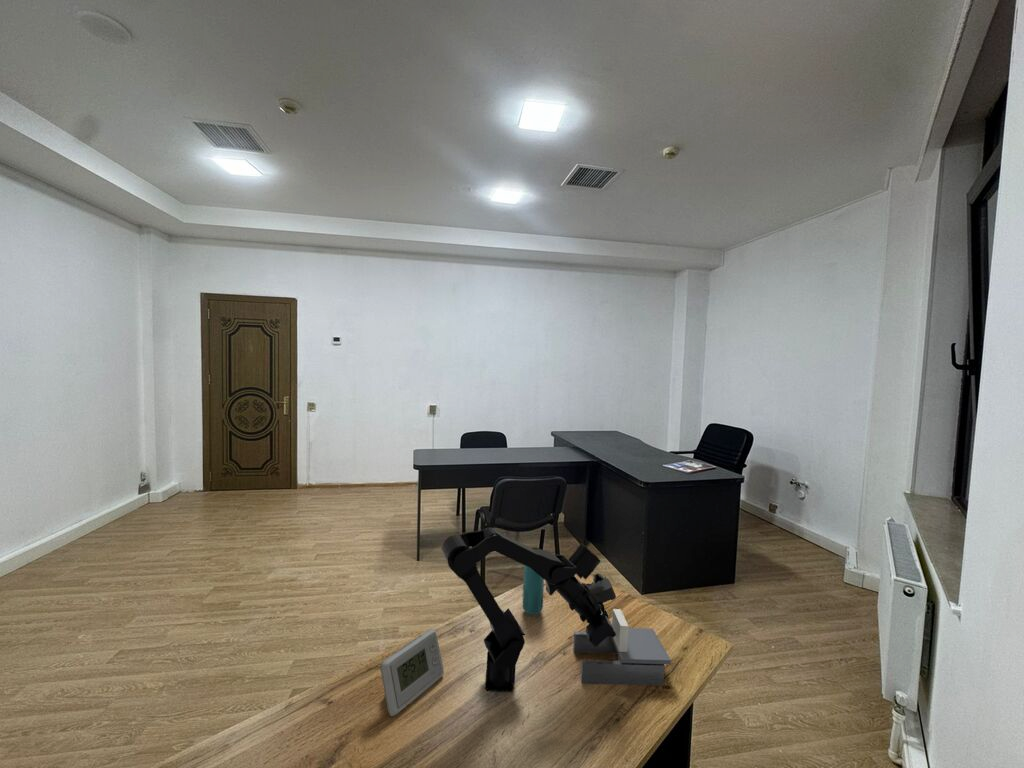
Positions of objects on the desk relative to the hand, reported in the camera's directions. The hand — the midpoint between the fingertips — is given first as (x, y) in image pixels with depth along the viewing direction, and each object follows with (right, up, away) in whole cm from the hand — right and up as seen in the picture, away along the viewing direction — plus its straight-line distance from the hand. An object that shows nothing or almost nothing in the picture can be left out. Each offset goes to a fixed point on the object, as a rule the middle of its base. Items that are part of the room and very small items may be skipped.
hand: (614, 635), depth 105 cm
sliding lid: (+6, -3, 0) cm, 7 cm away
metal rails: (0, -8, 0) cm, 8 cm away
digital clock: (-49, -7, -10) cm, 51 cm away
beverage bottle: (-20, -7, +22) cm, 30 cm away
